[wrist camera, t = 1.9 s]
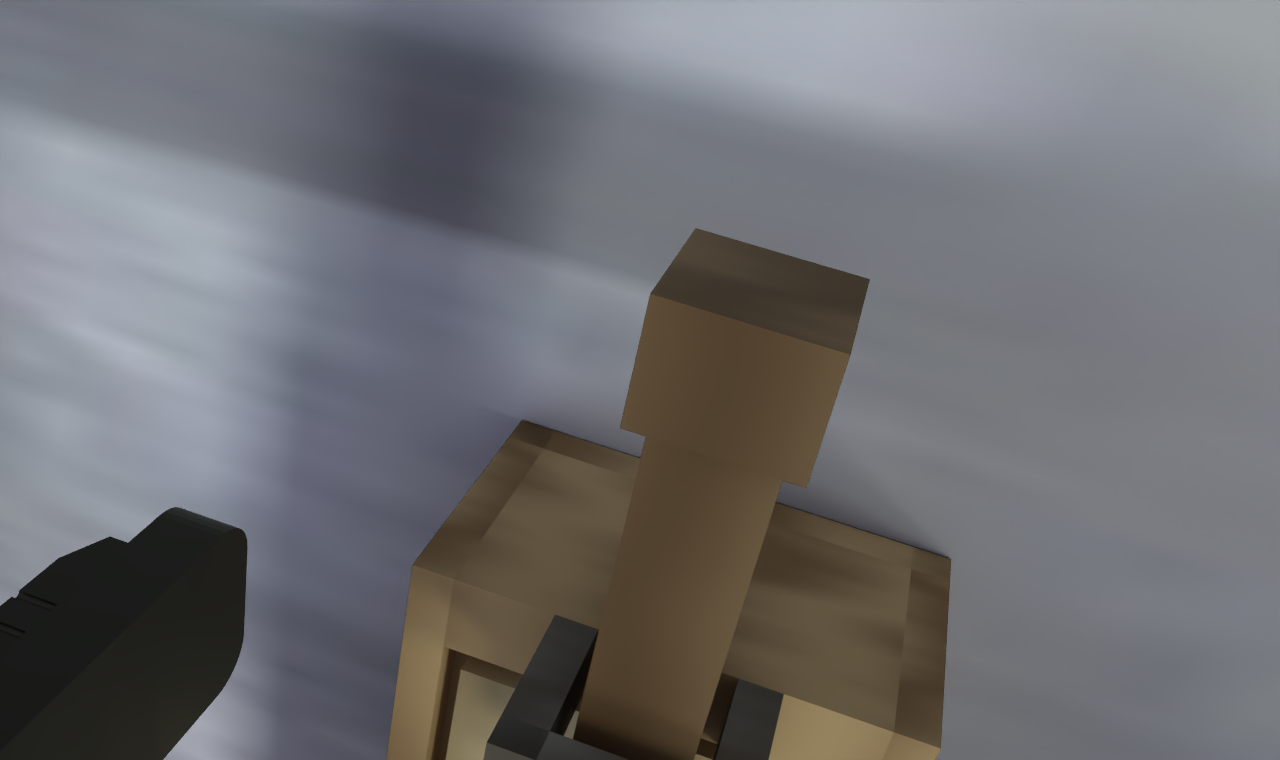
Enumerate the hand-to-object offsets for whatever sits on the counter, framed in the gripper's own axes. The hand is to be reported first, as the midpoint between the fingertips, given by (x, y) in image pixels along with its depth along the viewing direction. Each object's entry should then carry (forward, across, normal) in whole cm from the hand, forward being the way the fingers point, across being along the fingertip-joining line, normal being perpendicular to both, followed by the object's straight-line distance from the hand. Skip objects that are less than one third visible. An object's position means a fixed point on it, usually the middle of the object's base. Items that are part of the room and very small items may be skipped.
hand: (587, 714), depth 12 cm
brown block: (+11, 0, +6) cm, 12 cm away
